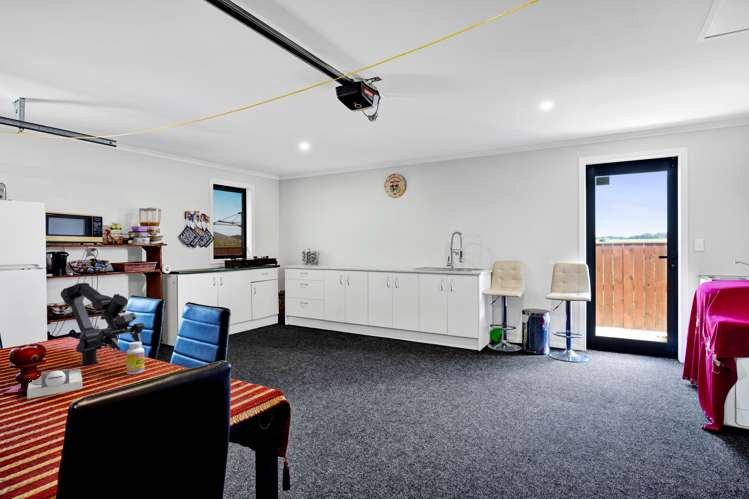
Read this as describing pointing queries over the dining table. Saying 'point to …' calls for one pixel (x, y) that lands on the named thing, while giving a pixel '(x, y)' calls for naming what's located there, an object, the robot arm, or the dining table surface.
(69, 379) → the kitchen scale
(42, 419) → the dining table surface
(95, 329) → the robot arm
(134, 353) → the supplement bottle
